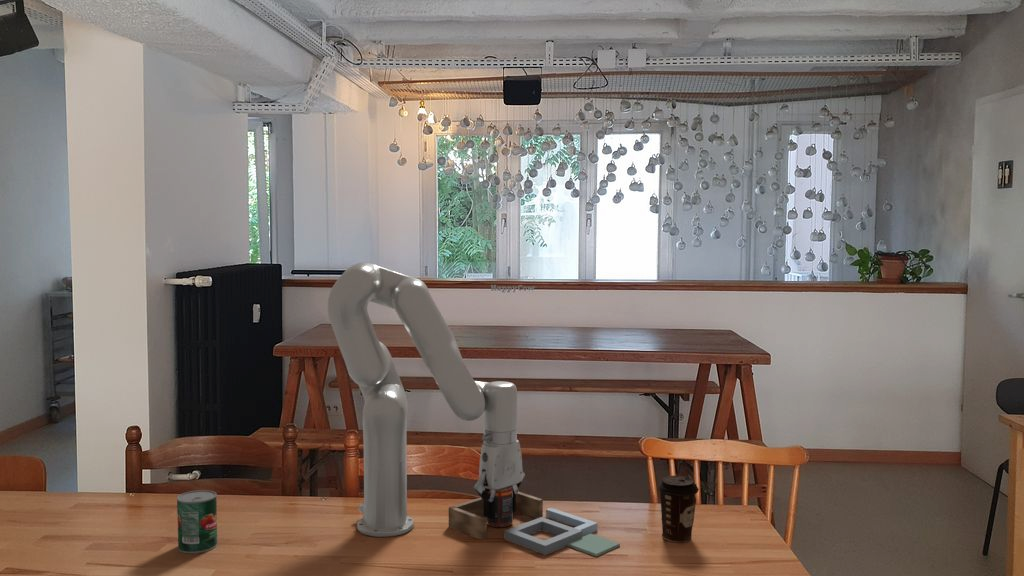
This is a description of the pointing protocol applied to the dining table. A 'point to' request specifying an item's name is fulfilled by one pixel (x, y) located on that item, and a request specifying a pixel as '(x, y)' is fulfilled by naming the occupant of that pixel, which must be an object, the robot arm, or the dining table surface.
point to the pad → (593, 544)
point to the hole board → (524, 538)
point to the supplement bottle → (502, 508)
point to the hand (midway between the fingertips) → (499, 512)
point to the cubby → (472, 513)
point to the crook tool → (573, 521)
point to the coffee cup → (677, 507)
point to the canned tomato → (197, 521)
